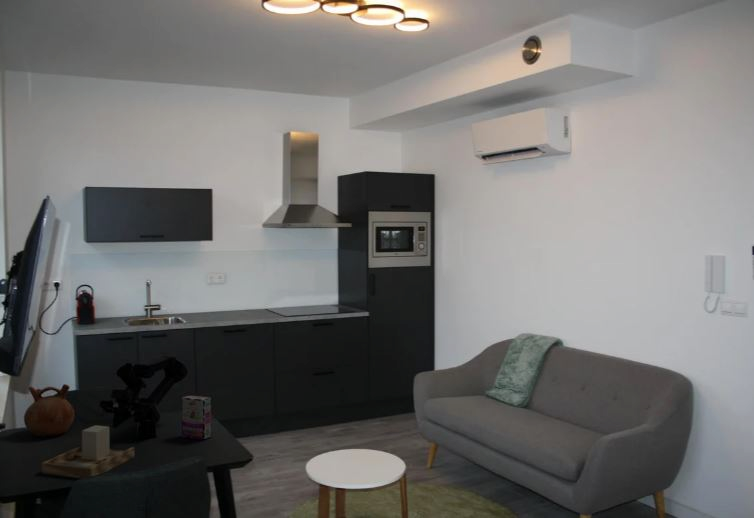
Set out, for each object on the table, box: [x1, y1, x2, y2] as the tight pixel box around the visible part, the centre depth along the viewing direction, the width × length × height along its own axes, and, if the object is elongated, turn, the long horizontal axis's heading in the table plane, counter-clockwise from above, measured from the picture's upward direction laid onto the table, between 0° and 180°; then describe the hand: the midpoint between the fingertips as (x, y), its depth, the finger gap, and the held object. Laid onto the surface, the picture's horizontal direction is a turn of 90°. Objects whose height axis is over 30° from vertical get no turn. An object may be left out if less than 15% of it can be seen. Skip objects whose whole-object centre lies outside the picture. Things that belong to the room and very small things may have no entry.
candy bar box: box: [181, 394, 212, 440], centre depth 265 cm, size 11×5×16 cm, turn 68°
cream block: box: [81, 425, 111, 460], centre depth 236 cm, size 7×6×10 cm
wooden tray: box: [41, 444, 136, 479], centre depth 233 cm, size 24×20×4 cm
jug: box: [23, 384, 75, 438], centre depth 269 cm, size 18×18×20 cm
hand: (113, 427), depth 246 cm, fingers closed
